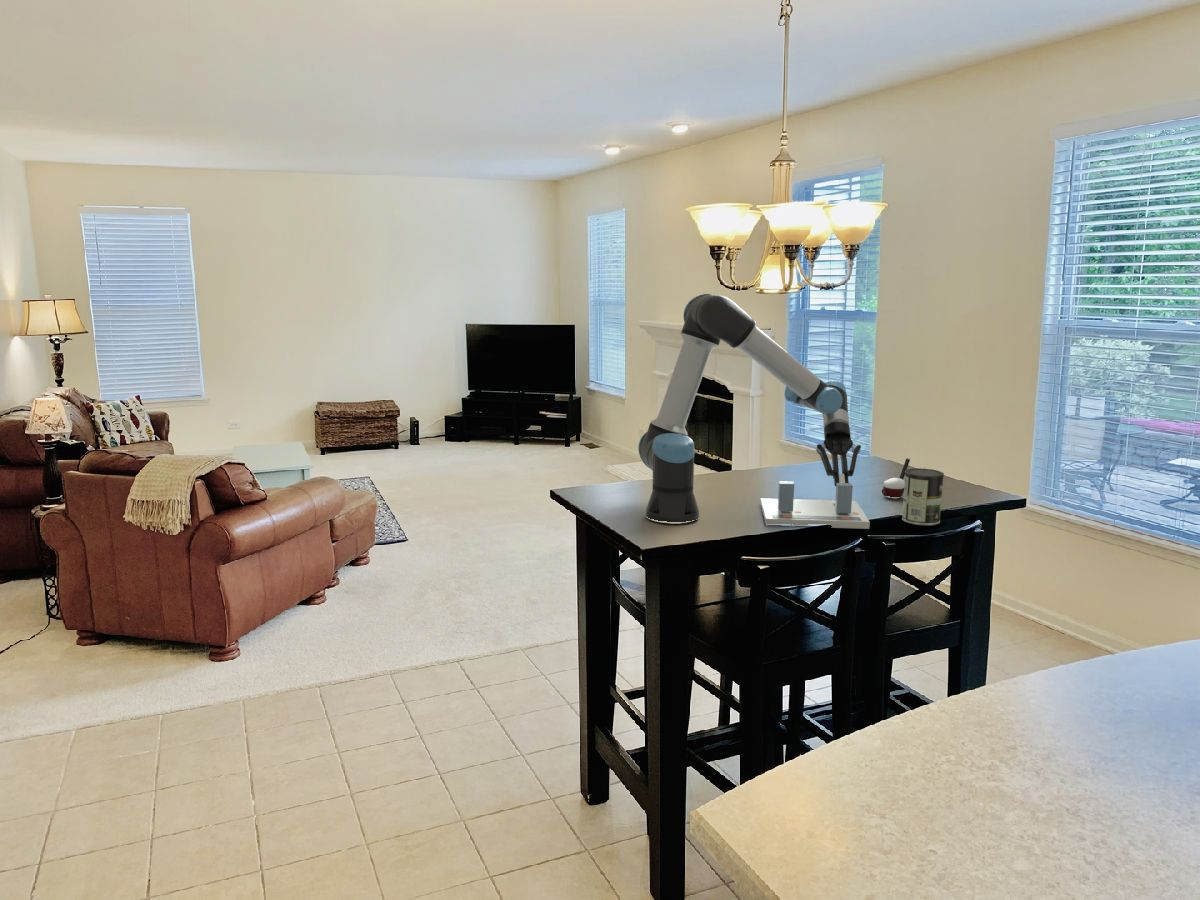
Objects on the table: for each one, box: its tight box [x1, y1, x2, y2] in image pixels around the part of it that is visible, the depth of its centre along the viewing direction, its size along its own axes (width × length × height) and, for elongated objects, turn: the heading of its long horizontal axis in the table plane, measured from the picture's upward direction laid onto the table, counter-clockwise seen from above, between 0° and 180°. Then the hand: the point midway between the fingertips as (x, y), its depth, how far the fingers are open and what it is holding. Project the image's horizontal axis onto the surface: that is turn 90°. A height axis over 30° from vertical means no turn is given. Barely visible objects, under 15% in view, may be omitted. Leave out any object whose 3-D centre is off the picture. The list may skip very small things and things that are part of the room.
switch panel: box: [759, 497, 871, 530], centre depth 250 cm, size 28×22×2 cm
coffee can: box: [901, 467, 945, 526], centre depth 245 cm, size 10×10×14 cm
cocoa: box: [881, 457, 911, 498], centre depth 269 cm, size 10×6×12 cm, turn 90°
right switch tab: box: [834, 482, 854, 513], centre depth 245 cm, size 4×3×8 cm
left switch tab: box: [777, 480, 795, 511], centre depth 247 cm, size 4×3×8 cm
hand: (842, 495), depth 248 cm, fingers closed
